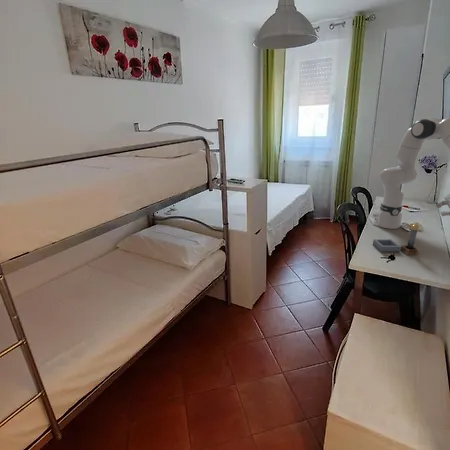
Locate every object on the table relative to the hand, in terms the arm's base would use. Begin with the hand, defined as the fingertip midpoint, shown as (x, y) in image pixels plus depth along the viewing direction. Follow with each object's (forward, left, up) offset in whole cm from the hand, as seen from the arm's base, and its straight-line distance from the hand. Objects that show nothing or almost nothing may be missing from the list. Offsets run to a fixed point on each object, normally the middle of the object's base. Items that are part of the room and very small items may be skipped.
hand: (438, 210), depth 157 cm
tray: (-5, -20, -24) cm, 32 cm away
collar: (0, -10, -24) cm, 26 cm away
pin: (0, -10, -24) cm, 26 cm away
